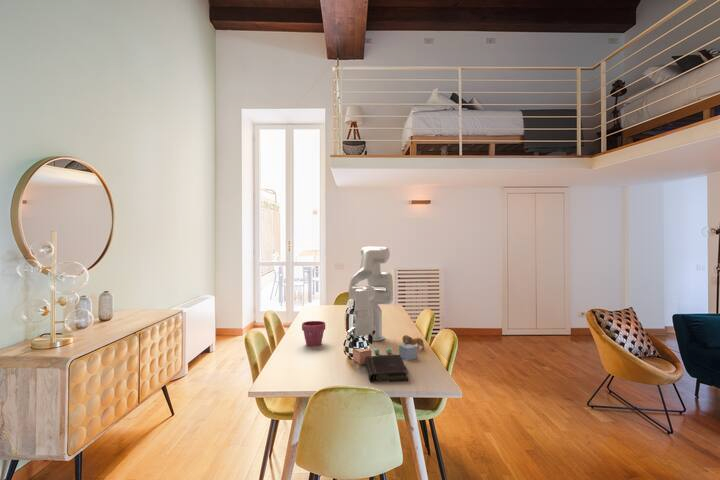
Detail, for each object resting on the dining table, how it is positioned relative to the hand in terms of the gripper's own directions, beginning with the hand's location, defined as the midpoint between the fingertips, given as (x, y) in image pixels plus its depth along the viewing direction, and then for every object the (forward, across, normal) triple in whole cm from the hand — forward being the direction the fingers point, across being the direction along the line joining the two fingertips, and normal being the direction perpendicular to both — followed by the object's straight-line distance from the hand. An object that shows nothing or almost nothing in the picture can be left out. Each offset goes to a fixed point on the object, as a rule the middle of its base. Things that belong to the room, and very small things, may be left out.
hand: (362, 344), depth 203 cm
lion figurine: (+9, +34, 0) cm, 36 cm away
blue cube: (+8, +23, -9) cm, 26 cm away
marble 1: (+9, +12, +5) cm, 16 cm away
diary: (+8, 0, -21) cm, 23 cm away
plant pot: (+10, -9, +42) cm, 44 cm away
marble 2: (+8, +18, +1) cm, 20 cm away
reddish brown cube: (+8, -1, -1) cm, 8 cm away
